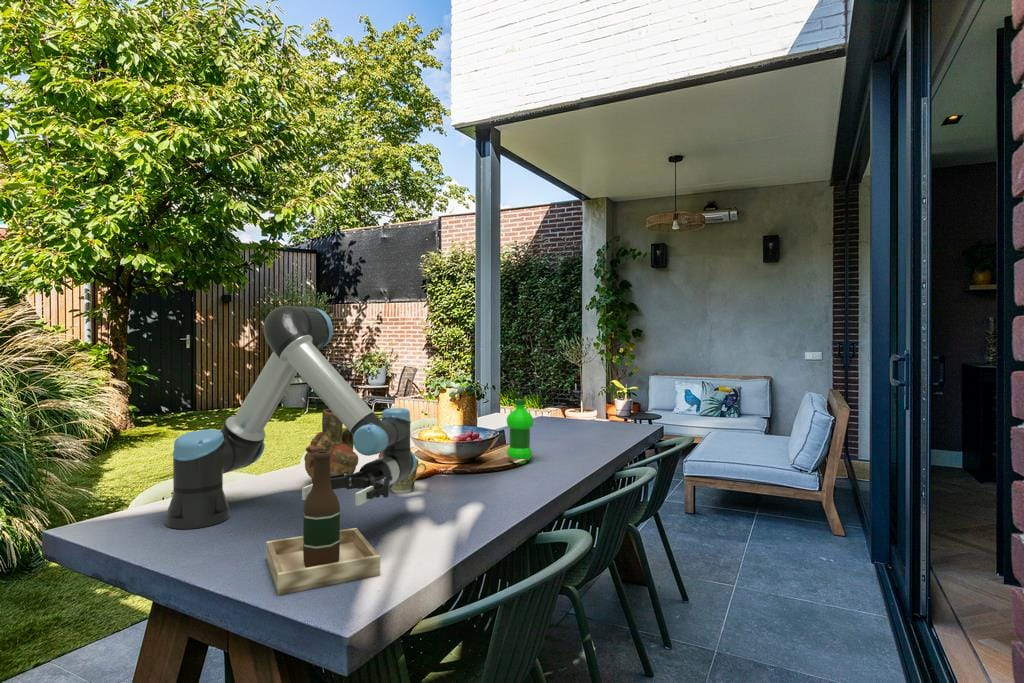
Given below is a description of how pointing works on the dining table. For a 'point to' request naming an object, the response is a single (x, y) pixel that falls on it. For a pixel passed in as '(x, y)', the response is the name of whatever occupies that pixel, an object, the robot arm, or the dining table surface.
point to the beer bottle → (321, 517)
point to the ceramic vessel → (332, 446)
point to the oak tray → (295, 577)
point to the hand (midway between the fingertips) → (329, 496)
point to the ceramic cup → (407, 482)
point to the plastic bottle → (520, 432)
